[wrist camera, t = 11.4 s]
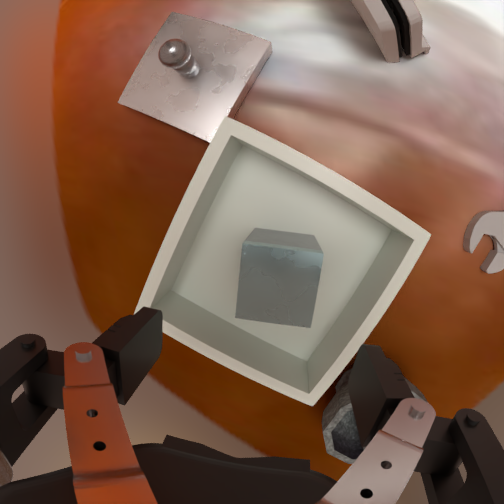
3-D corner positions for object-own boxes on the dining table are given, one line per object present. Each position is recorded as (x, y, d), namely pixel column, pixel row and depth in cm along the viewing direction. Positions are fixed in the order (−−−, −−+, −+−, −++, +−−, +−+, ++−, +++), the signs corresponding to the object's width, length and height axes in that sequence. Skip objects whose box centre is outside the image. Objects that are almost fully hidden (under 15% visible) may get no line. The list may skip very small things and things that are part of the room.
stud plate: (128, 107, 25) (87, 90, 18) (178, 21, 23) (152, -14, 16) (217, 146, 25) (194, 134, 18) (272, 51, 22) (266, 13, 16)
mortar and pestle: (312, 359, 28) (320, 451, 16) (404, 335, 26) (454, 412, 15) (328, 435, 30) (335, 518, 18) (405, 415, 28) (435, 491, 17)
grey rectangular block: (255, 227, 25) (242, 243, 18) (314, 235, 25) (323, 253, 18) (249, 284, 26) (235, 318, 19) (305, 291, 26) (310, 327, 19)
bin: (162, 290, 28) (133, 314, 22) (239, 131, 24) (224, 115, 19) (309, 367, 28) (312, 406, 22) (402, 223, 24) (431, 234, 19)
